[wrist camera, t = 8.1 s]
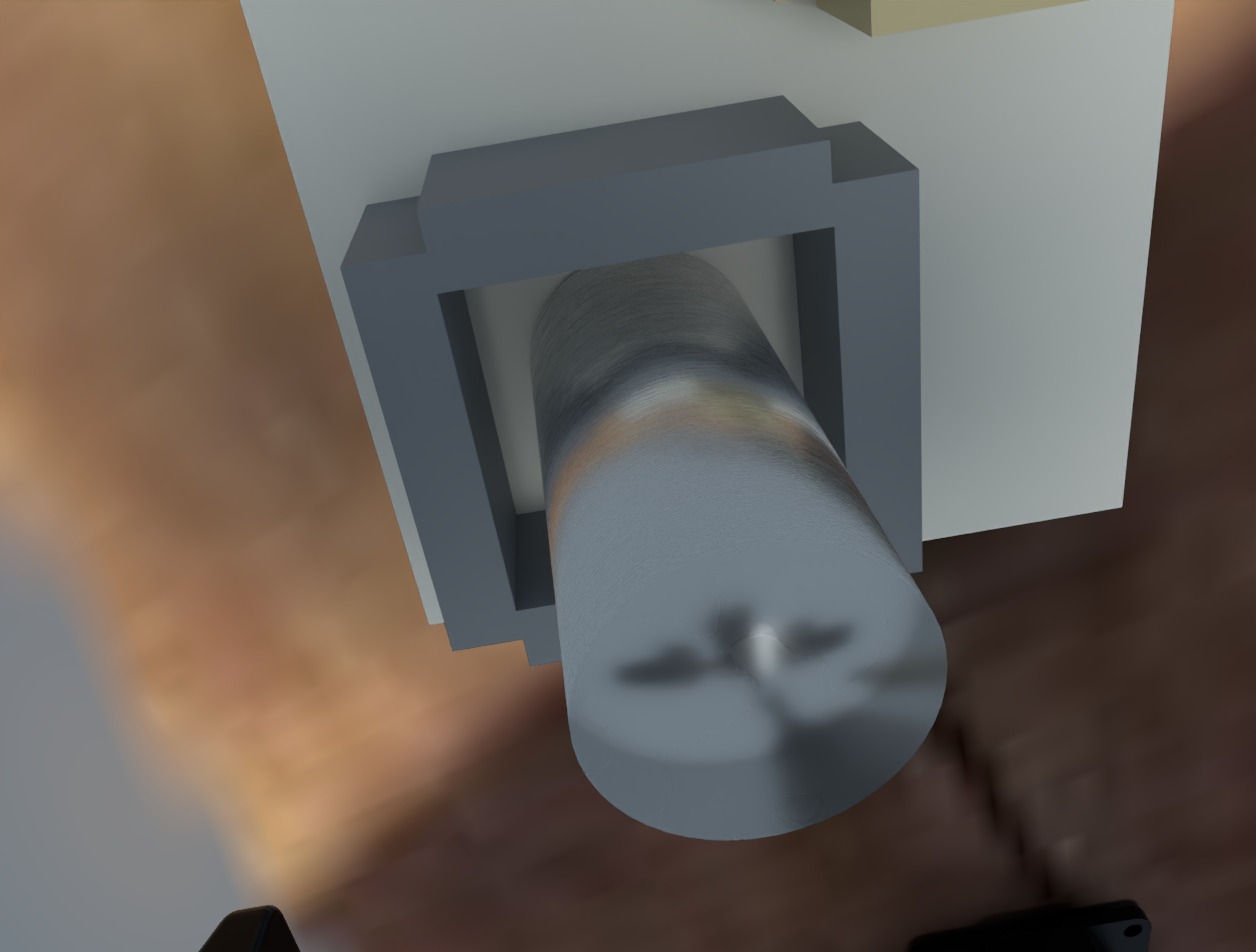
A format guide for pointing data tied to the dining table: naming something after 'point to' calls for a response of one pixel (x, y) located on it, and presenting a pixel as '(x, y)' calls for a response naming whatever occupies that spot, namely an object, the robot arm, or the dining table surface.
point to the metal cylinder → (715, 566)
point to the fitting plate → (731, 238)
